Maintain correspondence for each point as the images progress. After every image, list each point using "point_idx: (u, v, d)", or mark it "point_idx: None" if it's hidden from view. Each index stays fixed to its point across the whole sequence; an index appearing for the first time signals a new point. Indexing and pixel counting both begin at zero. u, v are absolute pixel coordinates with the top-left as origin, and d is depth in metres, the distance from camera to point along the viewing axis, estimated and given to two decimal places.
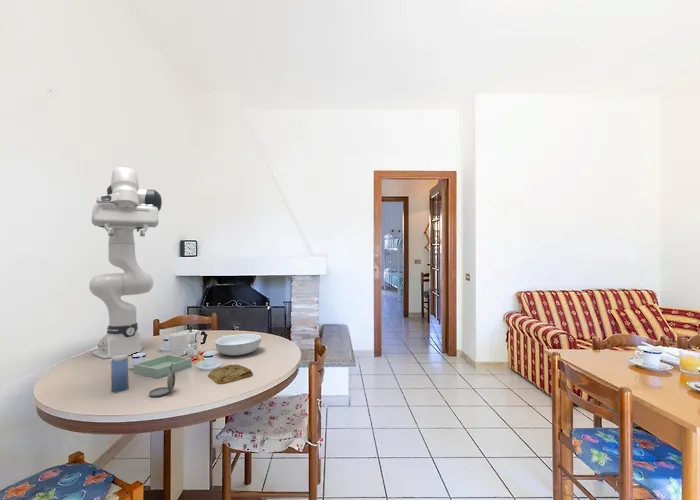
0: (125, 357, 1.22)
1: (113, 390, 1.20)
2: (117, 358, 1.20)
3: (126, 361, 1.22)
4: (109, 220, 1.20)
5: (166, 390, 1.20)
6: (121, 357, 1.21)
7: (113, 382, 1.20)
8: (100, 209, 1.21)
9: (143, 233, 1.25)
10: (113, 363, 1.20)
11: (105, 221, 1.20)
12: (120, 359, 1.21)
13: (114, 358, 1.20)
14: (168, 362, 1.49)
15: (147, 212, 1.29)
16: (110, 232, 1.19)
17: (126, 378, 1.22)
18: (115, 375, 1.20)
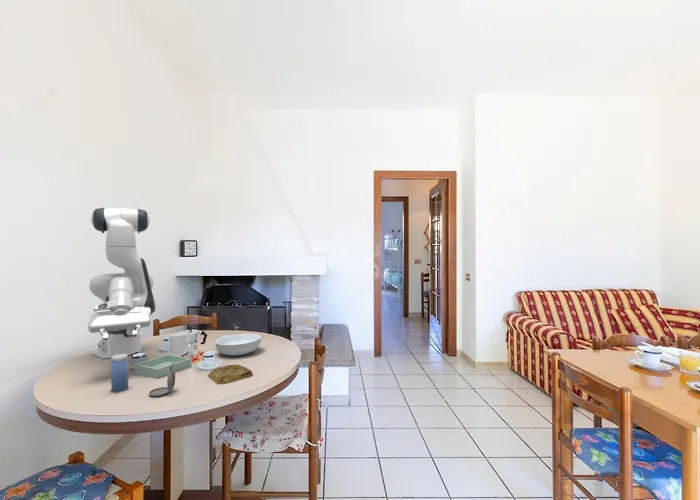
0: (125, 357, 1.22)
1: (113, 390, 1.20)
2: (117, 358, 1.20)
3: (126, 361, 1.22)
4: (104, 325, 1.31)
5: (166, 390, 1.20)
6: (121, 357, 1.21)
7: (113, 382, 1.20)
8: (97, 316, 1.32)
9: (135, 333, 1.34)
10: (113, 363, 1.20)
11: (100, 327, 1.30)
12: (120, 359, 1.20)
13: (114, 358, 1.20)
14: (168, 362, 1.49)
15: (140, 313, 1.40)
16: (105, 336, 1.29)
17: (126, 378, 1.22)
18: (115, 375, 1.20)
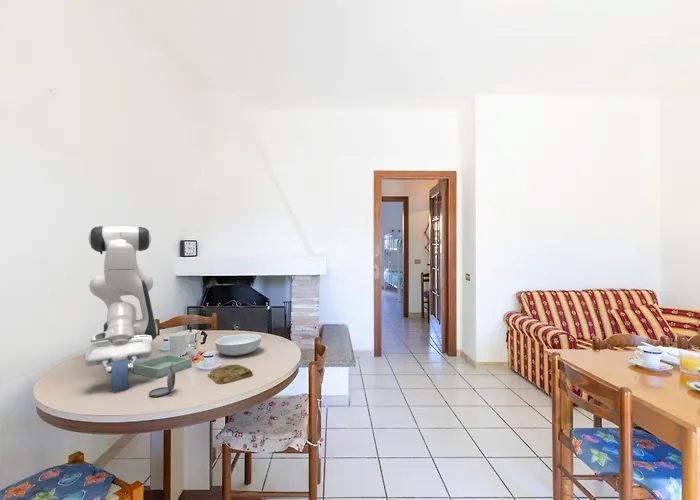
0: (125, 357, 1.22)
1: (113, 390, 1.20)
2: (117, 358, 1.20)
3: (126, 361, 1.22)
4: (102, 358, 1.21)
5: (166, 390, 1.20)
6: (121, 357, 1.21)
7: (113, 382, 1.20)
8: (94, 348, 1.22)
9: (131, 366, 1.23)
10: (113, 363, 1.20)
11: (98, 360, 1.20)
12: (120, 359, 1.21)
13: (114, 358, 1.20)
14: (168, 362, 1.49)
15: (141, 343, 1.30)
16: (108, 370, 1.20)
17: (126, 378, 1.22)
18: (115, 374, 1.20)
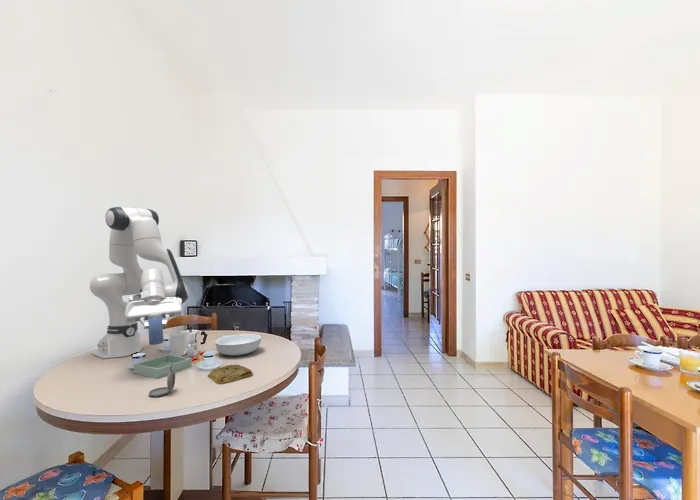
0: (160, 314, 1.36)
1: (151, 343, 1.34)
2: (153, 315, 1.34)
3: (161, 318, 1.36)
4: (140, 315, 1.35)
5: (166, 390, 1.20)
6: (156, 314, 1.35)
7: (150, 336, 1.34)
8: (132, 307, 1.37)
9: (165, 323, 1.38)
10: (150, 319, 1.34)
11: (136, 317, 1.35)
12: (156, 315, 1.35)
13: (150, 315, 1.34)
14: (168, 362, 1.49)
15: (172, 303, 1.44)
16: (145, 325, 1.34)
17: (161, 333, 1.36)
18: (152, 329, 1.34)
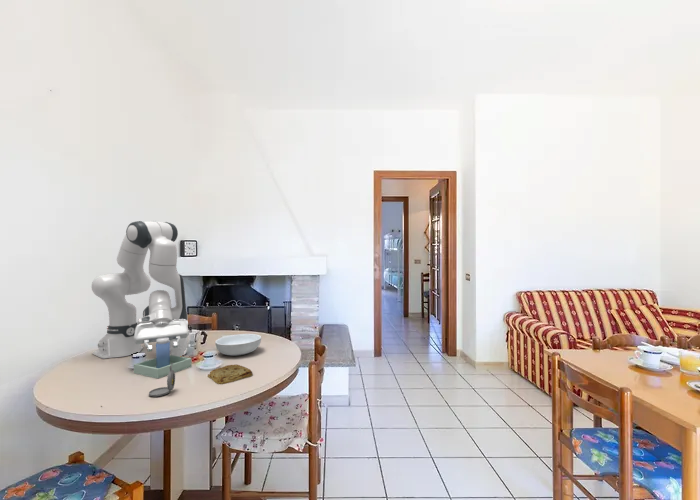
0: (167, 340, 1.42)
1: None
2: (161, 341, 1.40)
3: (168, 344, 1.42)
4: (148, 337, 1.41)
5: (166, 390, 1.20)
6: (164, 340, 1.41)
7: (158, 361, 1.40)
8: (141, 329, 1.42)
9: (176, 344, 1.44)
10: (158, 345, 1.40)
11: (145, 339, 1.41)
12: (164, 342, 1.40)
13: (159, 341, 1.40)
14: None
15: (179, 325, 1.50)
16: (149, 348, 1.39)
17: (168, 358, 1.42)
18: (160, 355, 1.40)
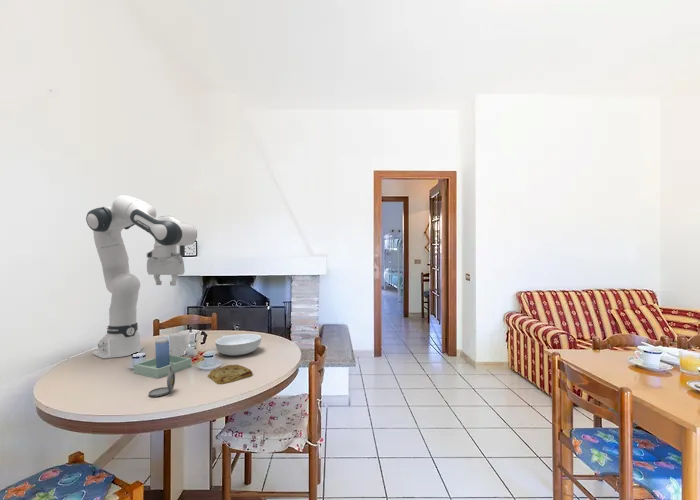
0: (167, 340, 1.42)
1: None
2: (161, 341, 1.40)
3: (168, 343, 1.42)
4: (154, 273, 1.51)
5: (166, 390, 1.20)
6: (164, 340, 1.41)
7: (158, 361, 1.40)
8: (150, 263, 1.52)
9: (171, 284, 1.47)
10: (157, 345, 1.40)
11: (153, 274, 1.52)
12: (163, 341, 1.41)
13: (158, 341, 1.40)
14: None
15: (172, 264, 1.46)
16: (156, 283, 1.52)
17: (168, 358, 1.42)
18: (159, 355, 1.40)
